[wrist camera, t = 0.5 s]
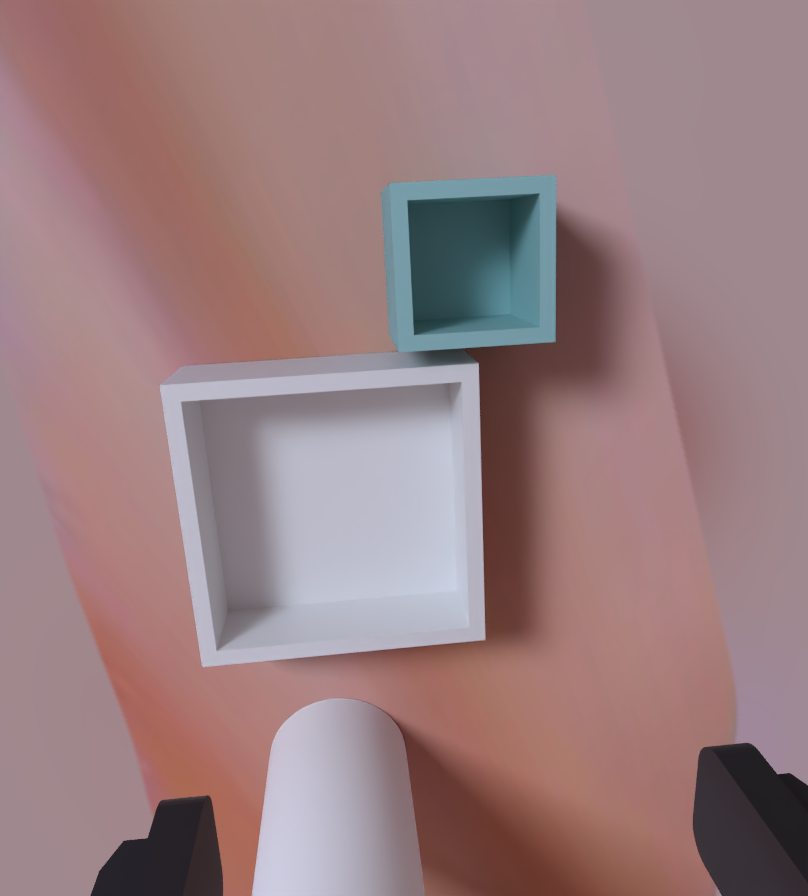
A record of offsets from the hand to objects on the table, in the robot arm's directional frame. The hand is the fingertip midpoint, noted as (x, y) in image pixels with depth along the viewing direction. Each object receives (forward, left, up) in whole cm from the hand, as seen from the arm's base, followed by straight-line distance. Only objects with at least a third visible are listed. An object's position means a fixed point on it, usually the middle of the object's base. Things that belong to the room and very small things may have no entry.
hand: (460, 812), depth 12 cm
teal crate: (-8, +4, -23) cm, 25 cm away
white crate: (+2, -2, -23) cm, 23 cm away
